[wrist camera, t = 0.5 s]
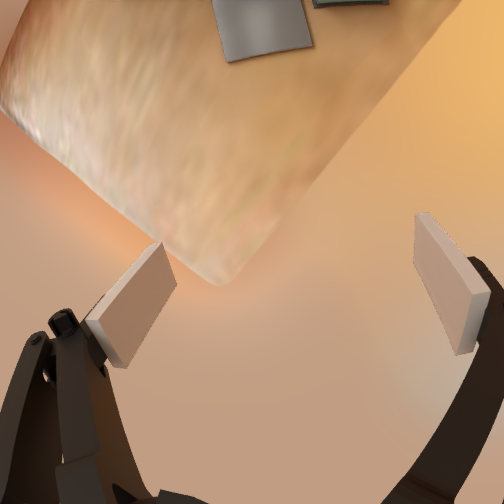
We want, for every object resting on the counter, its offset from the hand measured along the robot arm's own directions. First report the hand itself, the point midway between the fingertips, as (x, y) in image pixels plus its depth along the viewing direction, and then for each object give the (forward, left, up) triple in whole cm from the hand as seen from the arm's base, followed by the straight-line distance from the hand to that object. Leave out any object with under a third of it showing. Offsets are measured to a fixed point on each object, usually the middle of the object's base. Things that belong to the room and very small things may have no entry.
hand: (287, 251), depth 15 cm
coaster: (-20, -1, -27) cm, 34 cm away
